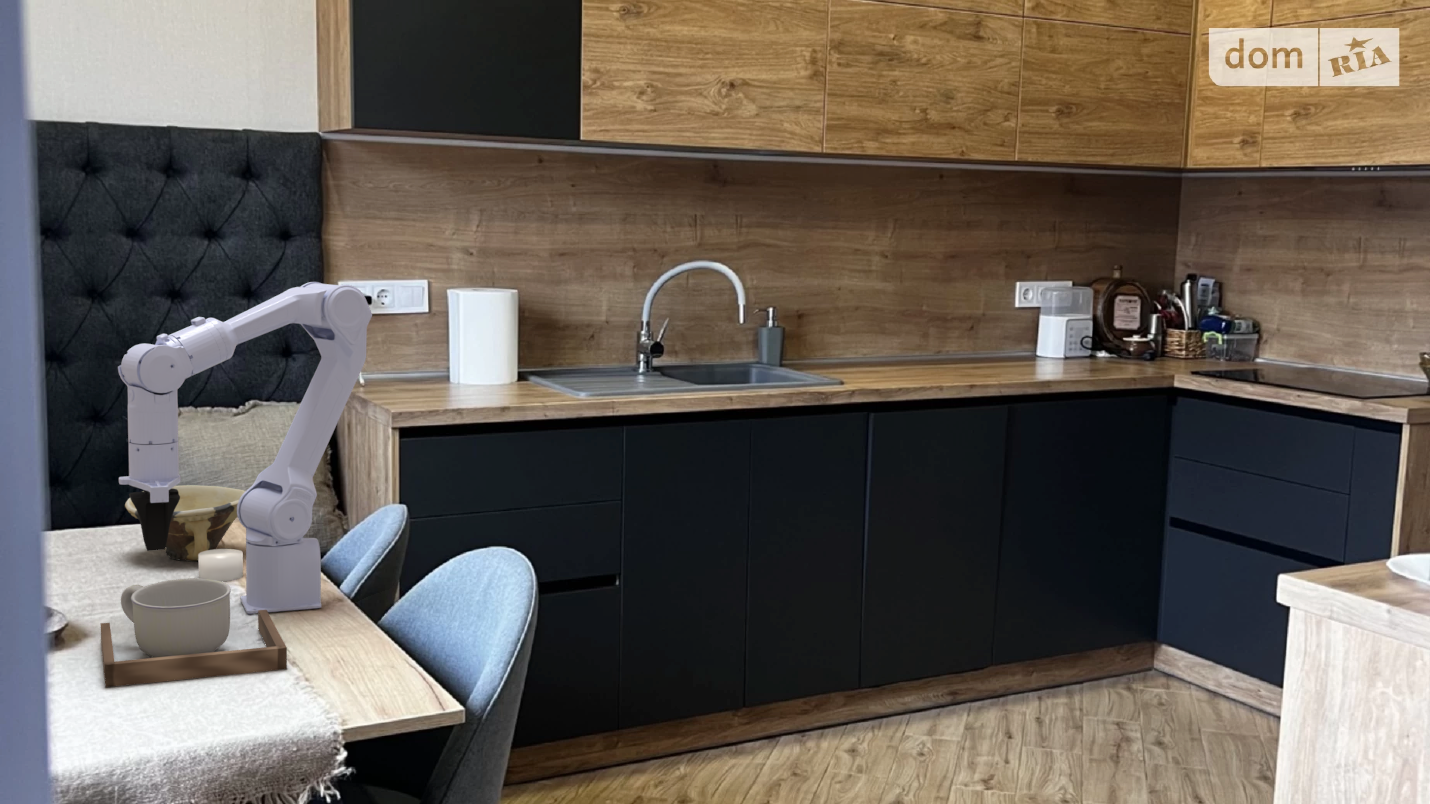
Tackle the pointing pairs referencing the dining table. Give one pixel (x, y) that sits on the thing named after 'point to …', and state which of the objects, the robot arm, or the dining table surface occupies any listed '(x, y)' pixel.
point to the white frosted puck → (221, 564)
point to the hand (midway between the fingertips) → (155, 549)
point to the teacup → (179, 616)
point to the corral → (195, 660)
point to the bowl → (198, 519)
